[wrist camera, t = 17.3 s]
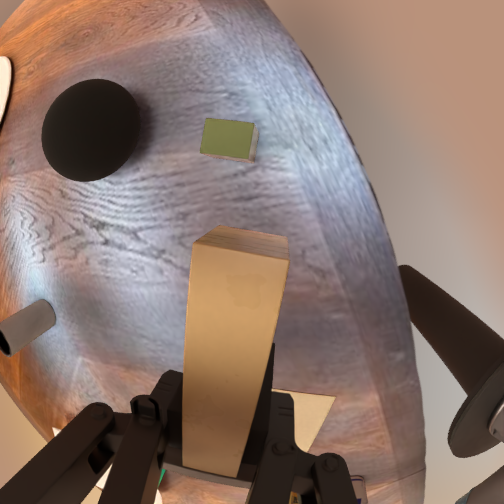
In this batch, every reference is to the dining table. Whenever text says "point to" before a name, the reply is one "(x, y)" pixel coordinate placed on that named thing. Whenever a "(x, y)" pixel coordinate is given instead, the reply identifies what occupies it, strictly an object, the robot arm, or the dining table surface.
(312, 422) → the linen napkin
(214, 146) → the knife rest
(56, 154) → the decorative ball
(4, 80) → the plate
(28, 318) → the grey cylinder
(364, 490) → the energy drink
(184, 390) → the fork
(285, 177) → the dining table surface
